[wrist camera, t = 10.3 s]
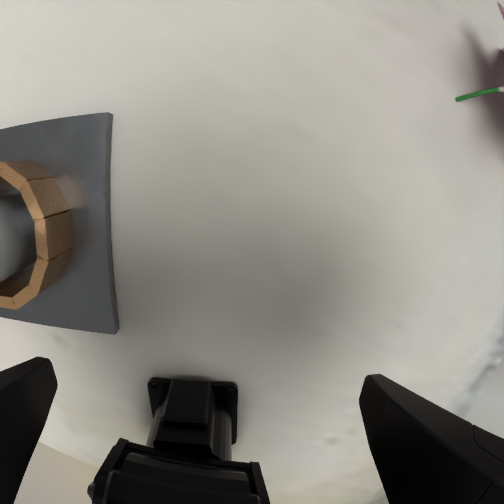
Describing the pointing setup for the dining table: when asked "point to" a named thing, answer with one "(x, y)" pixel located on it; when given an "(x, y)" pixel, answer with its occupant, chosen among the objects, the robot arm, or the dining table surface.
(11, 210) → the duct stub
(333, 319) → the dining table surface
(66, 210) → the duct collar
